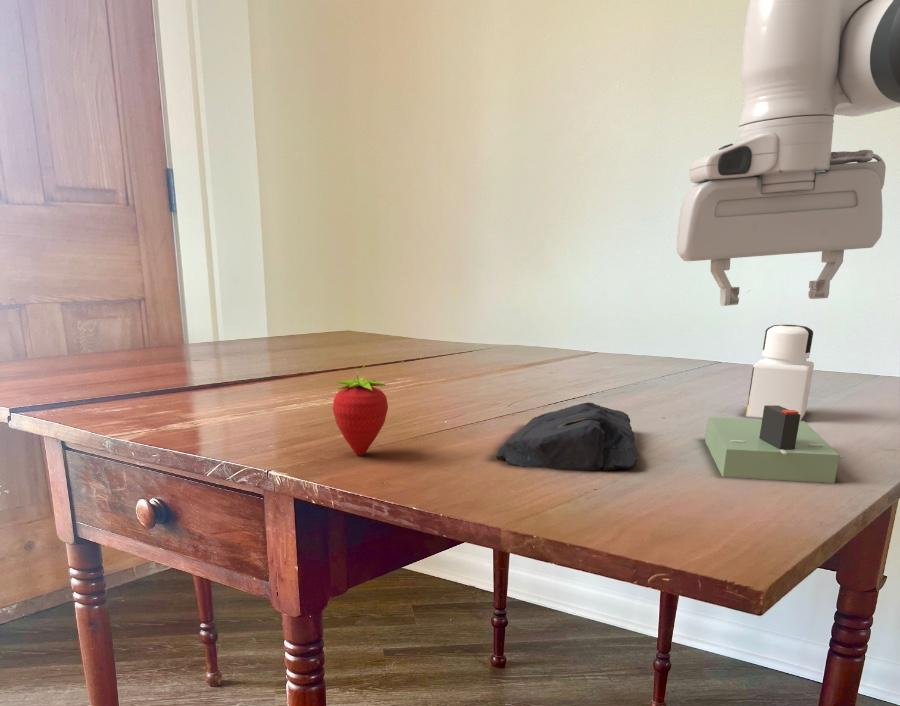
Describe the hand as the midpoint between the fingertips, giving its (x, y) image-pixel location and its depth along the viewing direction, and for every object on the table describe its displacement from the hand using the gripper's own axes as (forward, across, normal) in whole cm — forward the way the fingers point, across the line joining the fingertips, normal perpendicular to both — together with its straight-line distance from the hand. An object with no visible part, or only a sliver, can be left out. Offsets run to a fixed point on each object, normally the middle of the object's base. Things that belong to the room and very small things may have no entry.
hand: (773, 301), depth 91 cm
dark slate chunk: (+15, +21, -4) cm, 26 cm away
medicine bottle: (+17, -10, -24) cm, 31 cm away
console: (+17, +1, +2) cm, 17 cm away
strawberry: (+13, +45, +1) cm, 47 cm away
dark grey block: (+14, +1, +7) cm, 15 cm away
